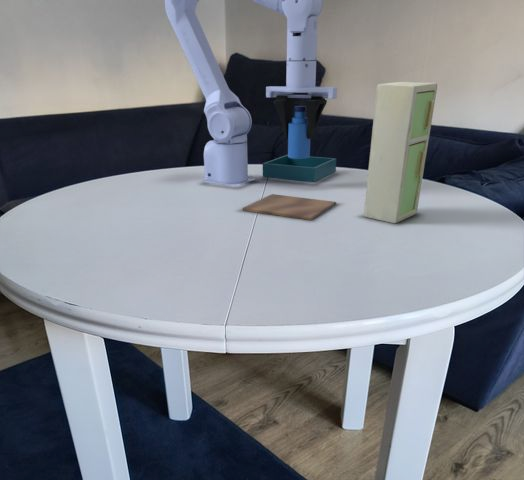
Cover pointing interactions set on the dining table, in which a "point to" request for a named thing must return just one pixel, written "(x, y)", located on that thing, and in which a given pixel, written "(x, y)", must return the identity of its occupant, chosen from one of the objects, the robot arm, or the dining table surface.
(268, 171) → the teal square tray
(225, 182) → the robot arm
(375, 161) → the toy refrigerator
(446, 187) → the dining table surface
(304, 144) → the water bottle
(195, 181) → the dining table surface
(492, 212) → the dining table surface
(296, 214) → the brown wooden board
